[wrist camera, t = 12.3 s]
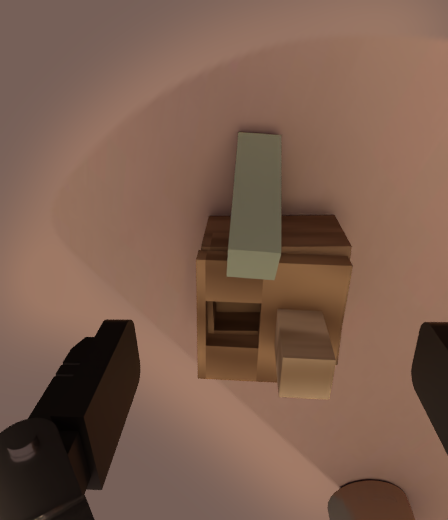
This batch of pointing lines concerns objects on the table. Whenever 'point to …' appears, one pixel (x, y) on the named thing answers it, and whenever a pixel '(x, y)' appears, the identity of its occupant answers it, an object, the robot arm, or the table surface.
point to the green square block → (256, 208)
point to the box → (292, 242)
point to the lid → (276, 323)
